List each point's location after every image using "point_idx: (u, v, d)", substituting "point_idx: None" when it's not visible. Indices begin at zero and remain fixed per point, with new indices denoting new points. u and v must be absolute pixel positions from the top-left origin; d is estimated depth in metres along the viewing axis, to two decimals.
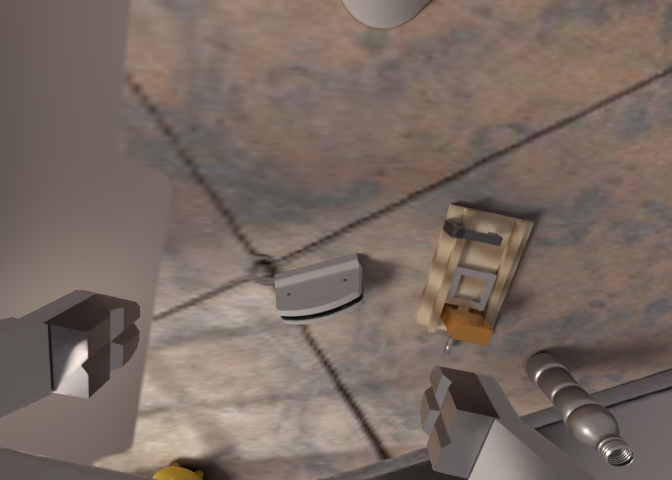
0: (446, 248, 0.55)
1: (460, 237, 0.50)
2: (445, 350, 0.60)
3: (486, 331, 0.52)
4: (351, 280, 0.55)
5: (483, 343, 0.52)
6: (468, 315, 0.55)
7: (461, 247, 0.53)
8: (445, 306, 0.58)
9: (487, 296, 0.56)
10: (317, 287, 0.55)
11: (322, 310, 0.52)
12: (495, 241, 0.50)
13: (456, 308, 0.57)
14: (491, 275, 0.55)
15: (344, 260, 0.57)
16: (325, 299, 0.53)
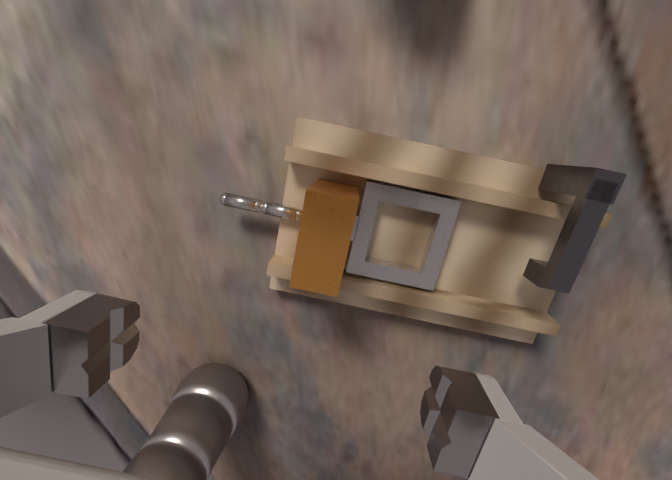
0: (497, 177, 0.24)
1: (590, 192, 0.19)
2: (233, 196, 0.24)
3: (333, 281, 0.19)
4: None
5: (296, 277, 0.19)
6: None
7: (519, 206, 0.22)
8: (352, 186, 0.24)
9: (382, 276, 0.25)
10: None
11: None
12: (562, 277, 0.20)
13: None
14: (433, 279, 0.25)
15: None
16: None
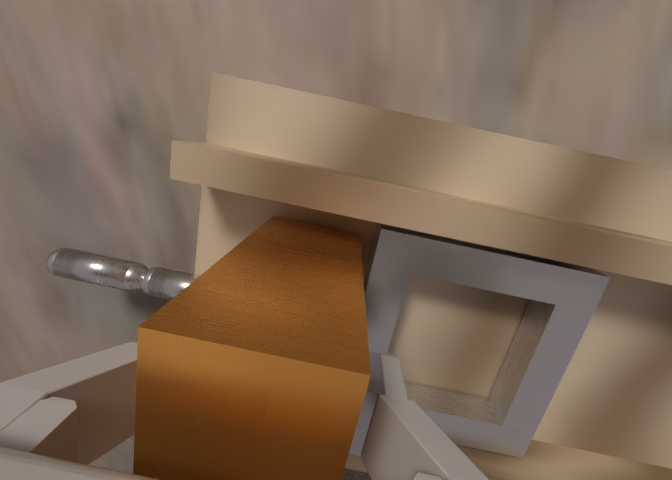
0: None
1: None
2: (74, 257, 0.11)
3: None
4: None
5: None
6: None
7: None
8: (346, 236, 0.10)
9: None
10: None
11: None
12: None
13: None
14: (526, 436, 0.11)
15: None
16: None
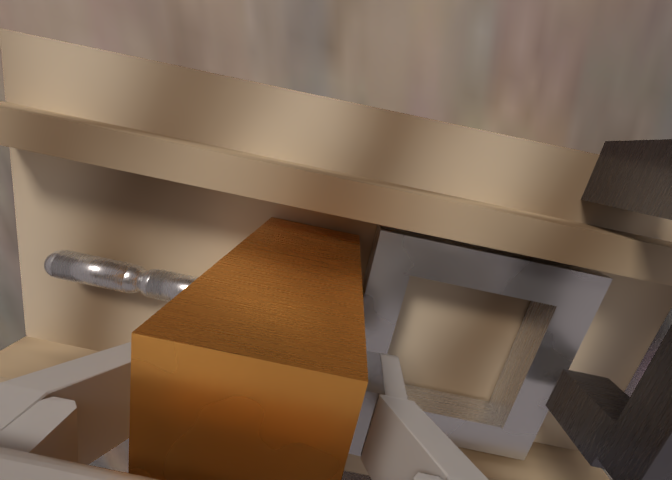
0: (486, 173, 0.10)
1: None
2: (73, 259, 0.11)
3: None
4: None
5: None
6: None
7: (539, 248, 0.09)
8: (345, 237, 0.10)
9: None
10: None
11: None
12: None
13: None
14: (527, 439, 0.11)
15: None
16: None
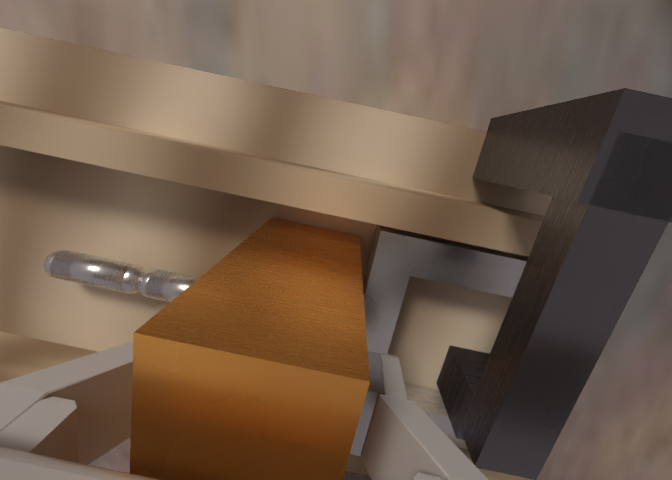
0: (377, 151, 0.10)
1: (602, 182, 0.05)
2: (72, 259, 0.11)
3: None
4: None
5: None
6: None
7: (412, 222, 0.09)
8: (345, 238, 0.10)
9: None
10: None
11: None
12: (516, 439, 0.07)
13: None
14: None
15: None
16: None
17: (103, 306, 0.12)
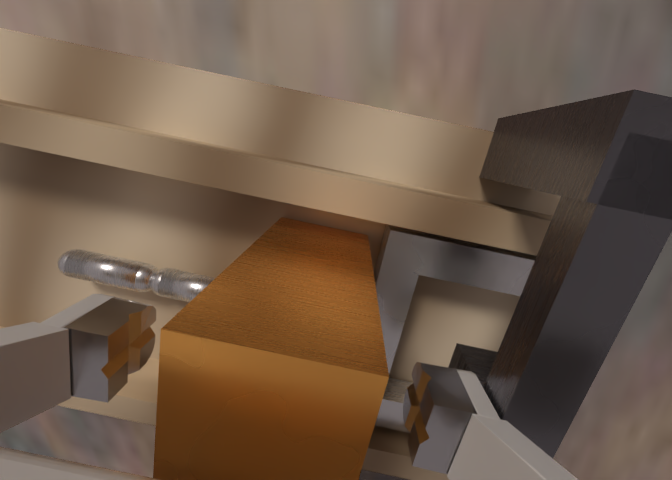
0: (385, 151, 0.10)
1: (611, 182, 0.05)
2: (86, 258, 0.11)
3: None
4: None
5: None
6: None
7: (420, 221, 0.09)
8: (355, 237, 0.10)
9: None
10: None
11: None
12: None
13: None
14: None
15: None
16: None
17: None
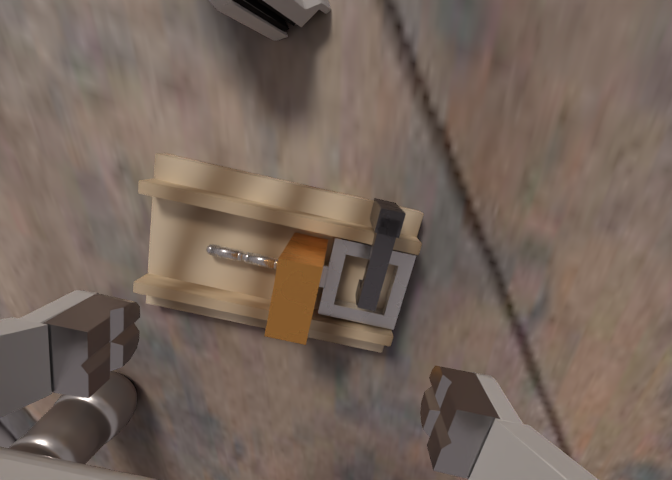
0: (334, 208, 0.27)
1: (379, 228, 0.22)
2: (218, 247, 0.27)
3: (302, 331, 0.22)
4: None
5: (270, 328, 0.22)
6: None
7: (343, 235, 0.26)
8: (322, 240, 0.27)
9: (349, 317, 0.28)
10: None
11: None
12: (368, 298, 0.24)
13: None
14: (394, 320, 0.28)
15: None
16: None
17: (222, 267, 0.29)
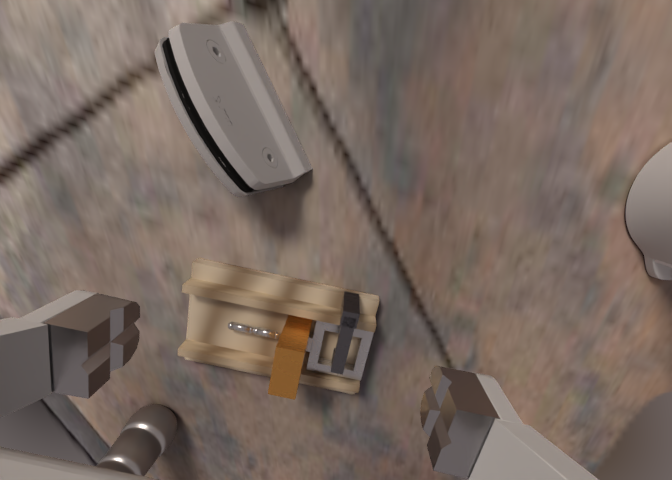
0: (316, 297, 0.39)
1: (342, 322, 0.34)
2: (235, 324, 0.39)
3: (292, 391, 0.34)
4: (271, 167, 0.31)
5: (271, 389, 0.34)
6: (304, 356, 0.37)
7: (322, 319, 0.37)
8: (308, 320, 0.39)
9: (328, 371, 0.40)
10: (244, 108, 0.30)
11: (206, 122, 0.27)
12: (337, 366, 0.35)
13: (308, 336, 0.38)
14: (360, 374, 0.40)
15: (298, 150, 0.34)
16: (229, 125, 0.28)
17: (238, 336, 0.41)
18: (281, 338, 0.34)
